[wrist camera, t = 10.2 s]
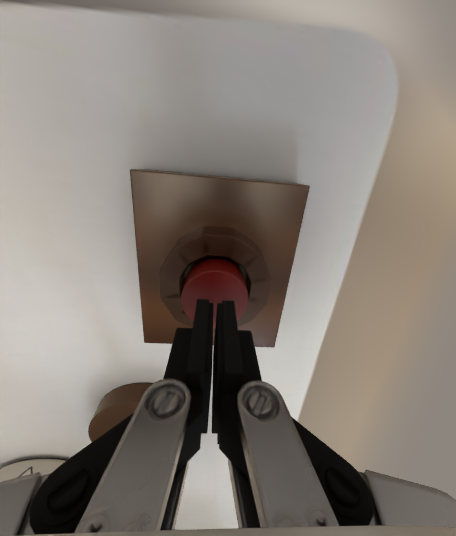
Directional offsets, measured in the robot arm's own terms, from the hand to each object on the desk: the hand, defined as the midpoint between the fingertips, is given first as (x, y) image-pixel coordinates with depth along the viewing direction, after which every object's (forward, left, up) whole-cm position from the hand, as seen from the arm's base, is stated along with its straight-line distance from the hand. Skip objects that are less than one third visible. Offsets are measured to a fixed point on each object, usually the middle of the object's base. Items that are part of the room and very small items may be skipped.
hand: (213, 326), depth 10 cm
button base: (0, 0, -7) cm, 7 cm away
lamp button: (0, 0, -4) cm, 4 cm away
